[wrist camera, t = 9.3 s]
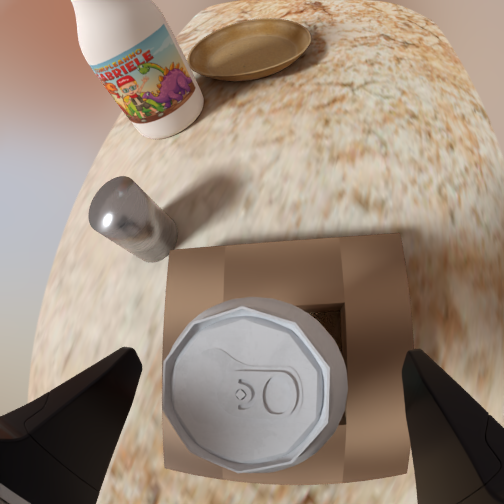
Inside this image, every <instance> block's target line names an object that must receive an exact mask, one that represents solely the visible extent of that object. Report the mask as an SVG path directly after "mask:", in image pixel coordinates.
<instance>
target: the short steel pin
mask: <svg viewBox="0 0 504 504" xmlns="http://www.w3.org/2000/svg"><path fill="white" fill-rule="evenodd" d="M89 222H90V225H91V227H92V228H93V229H94V230H96V231H97V232H99V233H100V234H102V235H103V236H105V237H107V238H108V239H110V240H111V241H113V242H114V243H116V244H118V245H119V246H121V247H122V248H124V249H126V250H127V251H129V252H130V253H132V254H134V255H135V256H137V257H139V258H140V259H142V260H144V261H146V262H157V261H160V260H162V259H164V258H165V257H166V256H167V255H168V254H169V253H170V250H172V249H173V248H174V246H175V244H176V241H177V236H178V231H177V226H176V224H175V222H174V221H173V220H172V219H171V218H170V217H169V216H168V215H167V214H166V213H165V212H164V211H163V210H162V209H161V208H160V207H159V206H158V205H157V204H156V203H155V202H154V201H153V200H152V199H151V198H150V197H149V196H148V195H147V194H146V193H145V192H144V191H143V190H142V189H141V188H140V187H139V186H138V185H137V184H136V183H135V182H134V181H133V180H132V179H131V178H129V177H125V176H121V177H116V178H114V179H112V180H110V181H108V182H107V183H106V184H104V185H103V186H102V187H101V188H100V190H99V191H98V192H97V193H96V195H95V196H94V198H93V200H92V203H91V205H90V209H89Z"/></svg>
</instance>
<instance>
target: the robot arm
mask: <svg viewBox="0 0 504 504" xmlns="http://www.w3.org/2000/svg"><path fill="white" fill-rule="evenodd" d="M141 372H142V363H141V361H140V359H139V357H138V355H137V353H136V351H135V350H134V349H133V348H130V347H122V348H120V349H119V350H117V351H115V352H114V353H112V354H110V355H109V356H107V357H106V358H104V359H102V360H101V361H99V362H97V363H96V364H94V365H92V366H91V367H89V368H87V369H86V370H84V371H83V372H81V373H79V374H78V375H76V376H74V377H73V378H71V379H69V380H68V381H66V382H64V383H63V384H61V385H59V386H58V387H56V388H54V389H53V390H51V391H50V392H48V393H46V394H44V395H43V396H41V397H39V398H37V399H36V400H34V401H32V402H30V403H28V404H26V405H24V406H22V407H20V408H18V409H16V410H14V411H12V412H10V413H7V414H5V415H3V416H0V504H96V502H97V499H98V496H99V493H100V492H99V491H100V489H101V486H102V483H103V481H104V478H105V475H106V472H107V469H108V466H109V464H110V461H111V458H112V455H113V453H114V450H115V447H116V444H117V442H118V439H119V437H120V434H121V431H122V429H123V426H124V424H125V421H126V418H127V416H128V413H129V411H130V408H131V406H132V403H133V399H134V396H135V392H136V389H137V385H138V382H139V379H140V375H141ZM402 382H403V392H404V402H405V414H406V421H407V427H408V432H409V438H410V444H411V450H412V457H413V464H414V471H415V479H416V489H417V500H418V504H504V428H503V427H502V426H501V425H500V424H499V423H498V422H497V421H496V420H495V419H494V418H493V417H492V416H491V415H489V413H488V412H487V411H486V410H485V409H484V408H483V407H482V406H481V405H480V404H479V403H478V402H477V401H475V400H474V399H473V398H472V397H471V396H470V395H469V394H468V393H467V392H466V391H465V390H464V389H463V388H462V387H461V386H460V385H459V384H458V383H457V382H456V381H455V380H454V379H452V378H451V377H450V376H449V375H448V374H447V373H446V372H445V371H444V370H443V369H442V368H441V367H440V366H439V365H437V364H436V363H435V362H434V361H433V360H432V359H431V358H430V357H429V356H428V355H427V354H425V353H424V352H423V351H422V350H421V349H414V350H409V351H408V352H407V353H406V357H405V360H404V364H403V367H402Z"/></svg>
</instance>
